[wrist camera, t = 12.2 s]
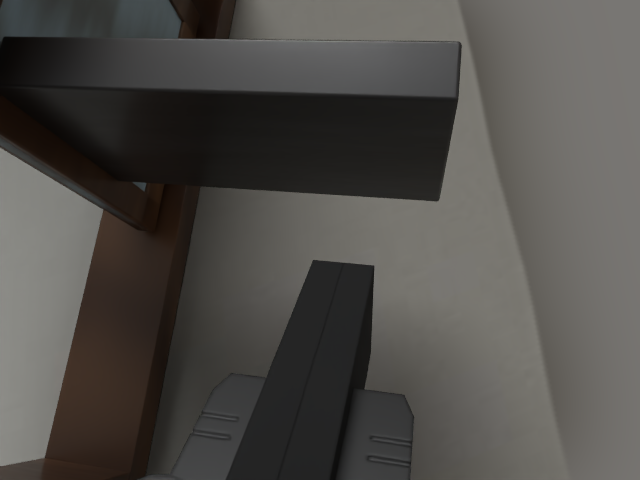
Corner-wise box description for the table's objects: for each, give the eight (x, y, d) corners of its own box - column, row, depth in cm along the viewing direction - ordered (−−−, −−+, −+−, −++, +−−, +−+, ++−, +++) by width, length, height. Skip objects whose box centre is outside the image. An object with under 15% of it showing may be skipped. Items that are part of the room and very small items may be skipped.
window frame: (140, 504, 23) (-376, 727, 8) (57, 489, 24) (-565, 667, 8) (242, -35, 30) (77, -470, 15) (176, -34, 31) (-47, -449, 16)
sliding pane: (431, 254, 22) (464, 100, 10) (137, 230, 25) (-110, 83, 13) (448, 16, 25) (488, -314, 13) (183, 16, 27) (18, -266, 16)
